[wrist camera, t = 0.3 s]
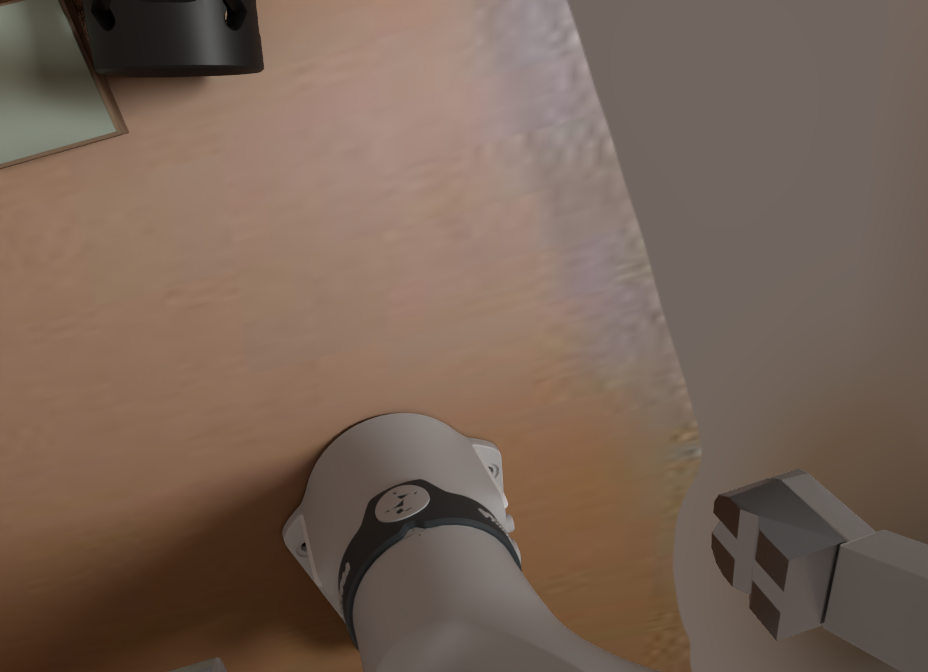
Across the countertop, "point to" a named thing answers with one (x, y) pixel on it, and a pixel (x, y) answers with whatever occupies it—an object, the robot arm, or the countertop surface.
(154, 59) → the muzzle brake
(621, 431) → the countertop surface
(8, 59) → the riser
